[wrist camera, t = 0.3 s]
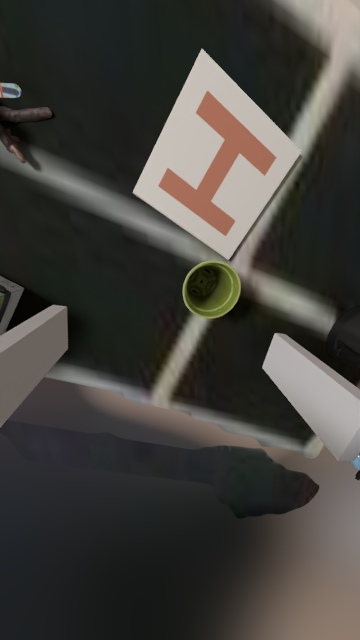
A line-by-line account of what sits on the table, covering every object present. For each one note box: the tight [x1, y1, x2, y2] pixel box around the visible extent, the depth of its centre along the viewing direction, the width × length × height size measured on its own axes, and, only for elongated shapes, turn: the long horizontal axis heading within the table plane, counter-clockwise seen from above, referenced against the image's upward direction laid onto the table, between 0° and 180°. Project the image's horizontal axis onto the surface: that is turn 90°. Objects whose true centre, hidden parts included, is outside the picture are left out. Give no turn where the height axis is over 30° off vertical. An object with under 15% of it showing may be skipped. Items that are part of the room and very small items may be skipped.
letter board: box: [133, 49, 302, 260], centre depth 33 cm, size 20×20×1 cm
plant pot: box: [183, 260, 241, 318], centre depth 36 cm, size 9×9×9 cm
